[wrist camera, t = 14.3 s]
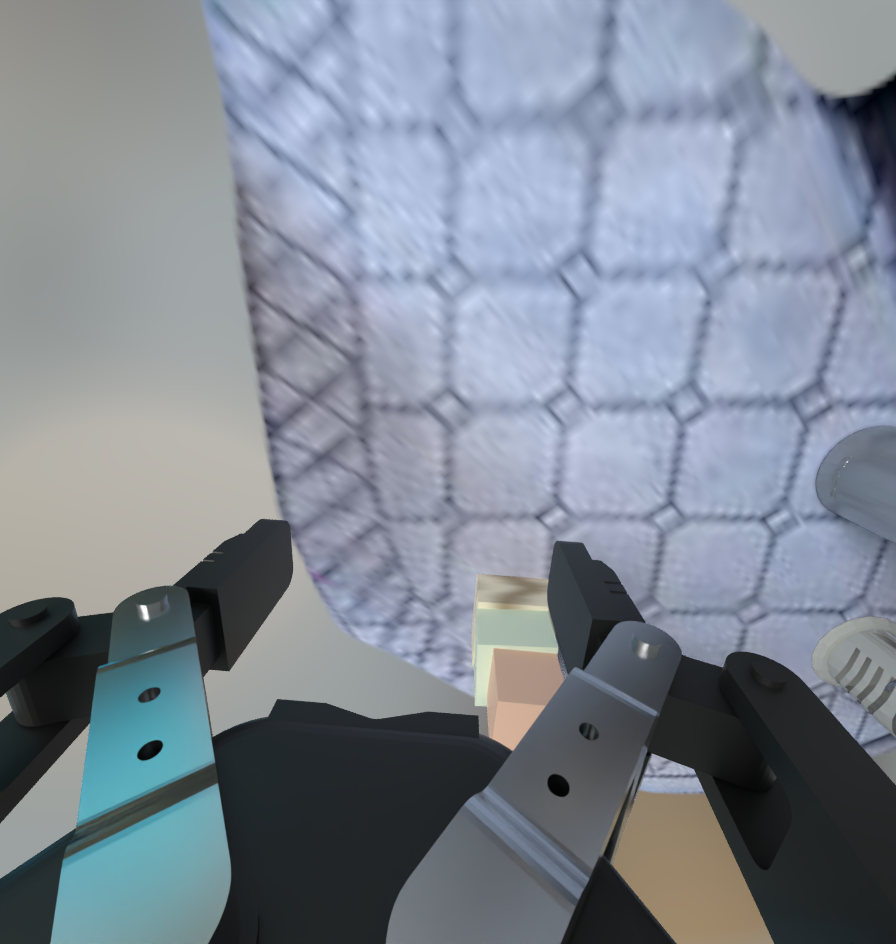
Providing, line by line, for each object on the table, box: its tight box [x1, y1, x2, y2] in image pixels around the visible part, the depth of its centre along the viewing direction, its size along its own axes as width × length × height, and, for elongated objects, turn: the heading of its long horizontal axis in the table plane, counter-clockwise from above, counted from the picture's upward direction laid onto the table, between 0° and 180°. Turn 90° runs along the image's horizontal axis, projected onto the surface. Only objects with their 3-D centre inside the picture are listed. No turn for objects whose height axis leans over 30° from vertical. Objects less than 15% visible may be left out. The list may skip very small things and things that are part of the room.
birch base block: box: [472, 574, 556, 666], centre depth 44 cm, size 8×8×5 cm
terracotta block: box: [487, 648, 564, 751], centre depth 34 cm, size 6×6×6 cm
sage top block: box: [474, 608, 558, 706], centre depth 39 cm, size 7×7×5 cm
